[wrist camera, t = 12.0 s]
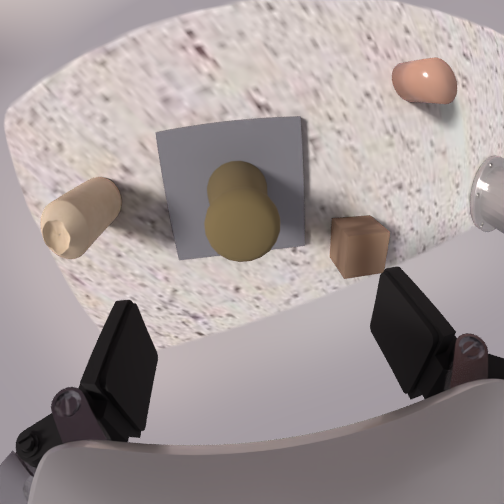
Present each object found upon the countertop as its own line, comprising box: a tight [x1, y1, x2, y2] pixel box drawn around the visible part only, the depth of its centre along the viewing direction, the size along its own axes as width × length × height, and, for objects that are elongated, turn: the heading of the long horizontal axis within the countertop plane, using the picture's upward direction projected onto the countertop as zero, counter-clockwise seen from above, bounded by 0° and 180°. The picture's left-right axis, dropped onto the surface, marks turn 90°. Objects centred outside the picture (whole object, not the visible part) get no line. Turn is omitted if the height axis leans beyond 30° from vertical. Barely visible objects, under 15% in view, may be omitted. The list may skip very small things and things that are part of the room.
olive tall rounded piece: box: [204, 161, 280, 262], centre depth 22 cm, size 6×6×11 cm
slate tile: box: [156, 116, 305, 260], centre depth 28 cm, size 14×14×1 cm
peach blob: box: [392, 58, 457, 104], centre depth 21 cm, size 5×5×6 cm
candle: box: [41, 177, 122, 259], centre depth 23 cm, size 6×6×10 cm
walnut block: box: [330, 215, 390, 279], centre depth 30 cm, size 5×5×5 cm
